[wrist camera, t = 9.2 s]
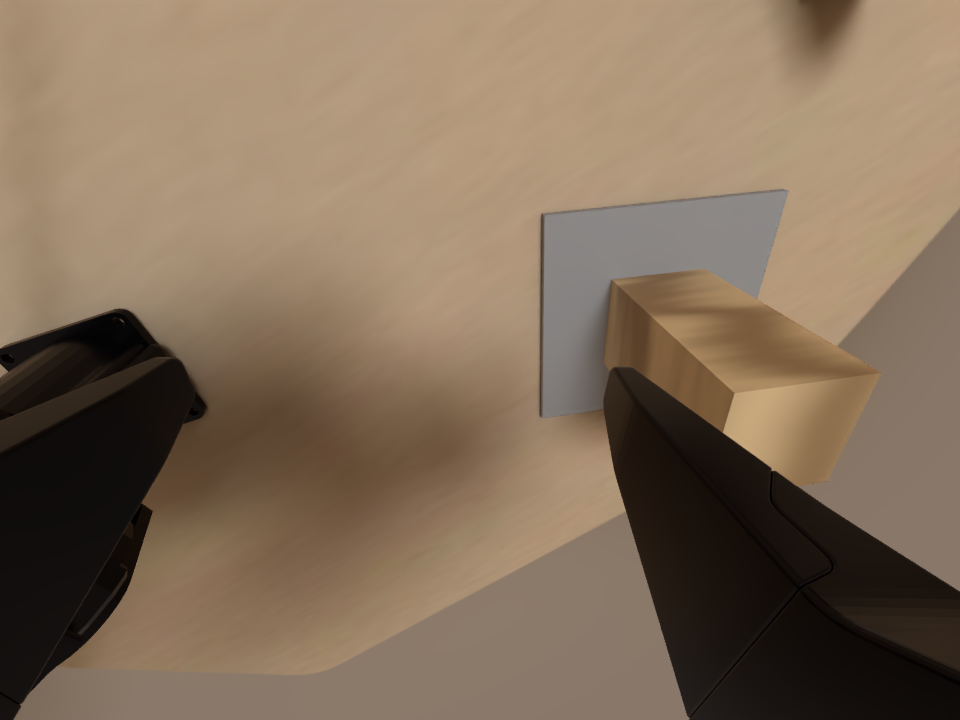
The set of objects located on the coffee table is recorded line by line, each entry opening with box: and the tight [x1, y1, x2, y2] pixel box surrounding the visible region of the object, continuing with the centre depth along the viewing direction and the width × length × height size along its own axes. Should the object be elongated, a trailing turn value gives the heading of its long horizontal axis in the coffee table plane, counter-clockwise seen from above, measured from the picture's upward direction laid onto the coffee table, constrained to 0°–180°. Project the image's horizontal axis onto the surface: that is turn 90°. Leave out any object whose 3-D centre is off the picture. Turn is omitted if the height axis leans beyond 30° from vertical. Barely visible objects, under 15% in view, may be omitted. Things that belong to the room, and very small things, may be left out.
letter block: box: [604, 269, 881, 486], centre depth 19 cm, size 5×5×10 cm
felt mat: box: [541, 189, 788, 418], centre depth 24 cm, size 12×12×1 cm
